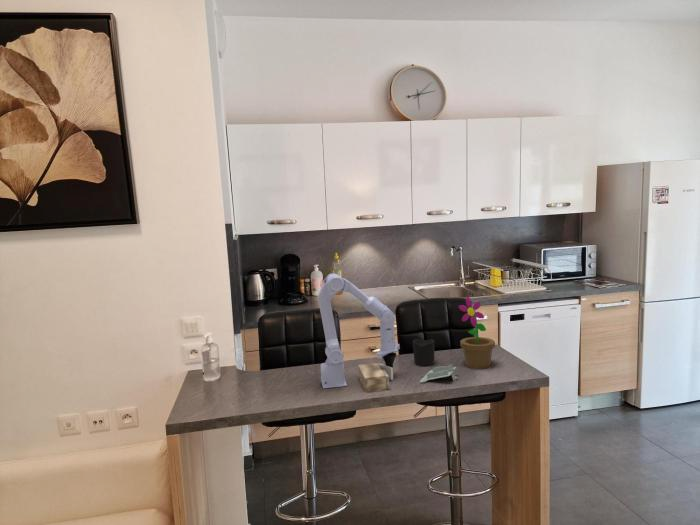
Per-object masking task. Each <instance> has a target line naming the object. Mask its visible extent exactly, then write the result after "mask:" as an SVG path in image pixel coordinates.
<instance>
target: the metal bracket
mask: <svg viewBox="0 0 700 525" xmlns="http://www.w3.org/2000/svg"><path fill="white" fill-rule="evenodd" d="M456 369H457V367H456V366H453V364H449V365H447V366H446V365H445V366H444V365H443V366H437V367H436V366H435V367H433V368H432V369H430V370H429V371H428V372H427V373H425V375H424V376H423V377H422V378H421V379H420V380H419V381H420V382H419V381H418V382H419V383H418V384H421V383H426V382H427V381H431V380H436V379H440V378H447V377H450V376H451V377H452V381H453V382H455V381H456V380H458V378H459V377H458V376H456ZM455 379H456V380H455ZM454 380H455V381H454Z"/></svg>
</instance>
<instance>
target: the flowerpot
mask: <svg viewBox="0 0 700 525" xmlns="http://www.w3.org/2000/svg"><path fill="white" fill-rule="evenodd" d="M465 304H466V305H463V304H460V305H458V309H459V310H460V311H462V312H464V313H465V312H467V313H465V314H463V316H462V317H461V321H462V322H467V320H469V319H470V324H471V325H472V326H473V327H475V329H470V330H468V331H467V333H468V334H470V335H473V337H471V336H470V337H465V338H462V339H461V340H459V343H460V344H459V345H460V348H461V349H463V356H464V362H465V365H466V367H468V368H471V369H486V368H489V367H490V366H491V365H492V354H493V349H494V348H495V347H496V342H495V340H494V339H492V338H488V337H481V336H479V331H480V332H485V331H487V328H486V326H485V325H484V324H482V323H480V322H479V323H478V320H477V318H478V319H481V320H482V319H484V318H485V315H484V314H483V313H482V312H480V311H475V310H478V309H479V308H481V304H482V303H481V301H477V302H475V303H474V304H473V302H472V300H471V298H470V297H469V296H466V298H465Z"/></svg>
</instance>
